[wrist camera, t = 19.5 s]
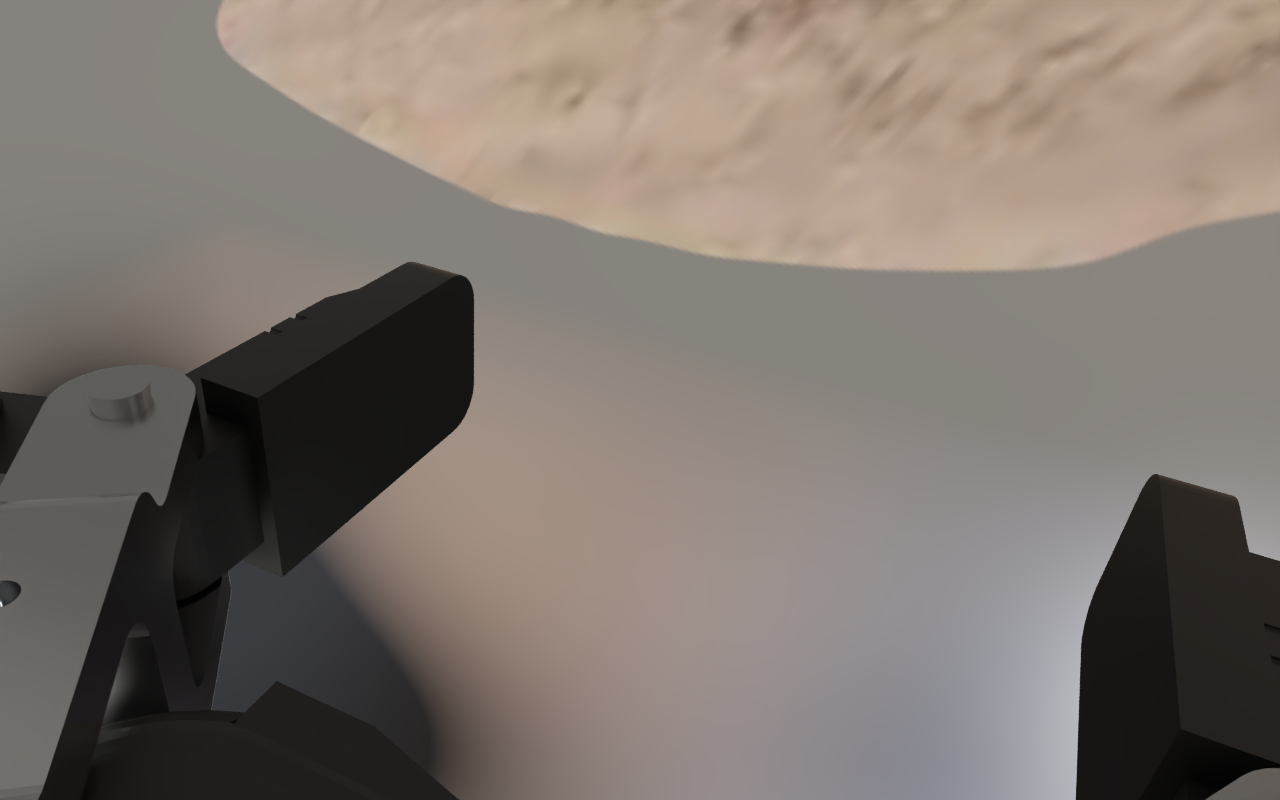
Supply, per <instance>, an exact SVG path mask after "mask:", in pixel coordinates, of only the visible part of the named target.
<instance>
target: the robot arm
mask: <svg viewBox="0 0 1280 800" xmlns="http://www.w3.org/2000/svg"><path fill="white" fill-rule="evenodd" d="M473 388H474V294H473V289H472V285H471V283H470V281H469V280H468V279H467V278H466V277H464V276H462V275H458V274H454V273H451V272H448V271H444V270H440V269H437V268H434V267H430V266H426V265H423V264H420V263H416V262H408V263H405V264H403V265H401V266H399V267H398V268H396V269H394V270H392V271H391V272H389V273H387V274H385V275H383V276H381V277H380V278H378V279H377V280H374V281H373V282H371V283H369V284H367V285H366V286H364V287H362V288H360V289H357V290H353V291H349V292H346V293H342V294H338V295H334V296H330V297H327V298H325V299H323V300H321V301H319V302H317V303H315V304H314V305H312V306H310V307H308V308H306V309H305V310H303V311H301V312H299V313H297V314H296V317H295V319H293V318H288V319H286V320H284V321H282V322H281V323H279V324H277V325H275V326H273V327H272V328H271V331H270V333H269V332H266V331H264V332H262V333H260V334H259V335H257V336H255V337H253V338H251V339H250V340H248V341H246V342H244V343H242V344H240V345H238V346H237V347H235V348H233V349H231V350H229V351H227V352H226V353H224V354H222V355H220V356H218V357H216V358H215V359H213V360H211V361H209V362H207V363H205V364H204V365H202V366H200V367H198V368H196V369H194V370H193V371H191V372H189V373H187V374H185V375H184V374H182V373H180V372H178V371H175V370H172V369H169V368H165V367H159V366H150V365H131V366H119V367H113V368H108V369H103V370H98V371H95V372H91V373H89V374H85V375H82V376H80V377H77V378H75V379H73V380H71V381H69V382H67V383H65V384H63V385H62V386H60V387H59V388H57V389H56V390H55V391H54V392H53V393H52V394H50V395H49V396H48V397H44V396H35V395H26V394H17V393H8V392H0V800H459V799H457V798H456V797H455V796H454V795H452V794H451V793H450V792H449V791H448V790H447V789H446V788H444V787H443V786H442V785H441V784H440V783H439V782H437V781H436V780H435V779H434V778H433V777H432V776H431V775H429V774H428V773H427V772H426V771H425V770H424V769H422V767H420V766H419V765H418V764H417V763H416V762H415V761H413V760H412V759H411V758H410V757H409V756H408V755H407V754H405V753H404V752H403V751H402V750H401V749H400V748H399V747H397V746H396V745H395V744H394V743H393V742H392V741H391V740H389V739H388V738H387V737H386V736H385V735H384V734H382V733H381V732H380V731H379V730H378V729H377V728H376V727H374V726H372V725H370V724H368V723H366V722H364V721H362V720H359V719H357V718H355V717H353V716H351V715H348V714H346V713H344V712H342V711H340V710H338V709H336V708H333V707H331V706H329V705H327V704H325V703H323V702H320V701H318V700H316V699H314V698H312V697H310V696H308V695H305V694H303V693H301V692H299V691H297V690H295V689H292V688H290V687H288V686H286V685H283V684H282V683H279V682H277V681H276V682H275V684H273V685H272V686H271V687H270V688H269V689H268V690H267V691H266V692H265V693H264V694H263V695H262V696H261V697H260V698H259V699H258V700H257V701H256V702H255V703H254V704H253V705H252V706H251V707H250V708H249V709H248V710H247V711H246V712H245V713H243V712H233V711H219V710H211V709H212V703H213V697H214V692H215V686H216V680H217V673H218V668H219V662H220V656H221V649H222V644H223V638H224V632H225V626H226V621H227V615H228V609H229V603H230V597H231V584H230V580H229V573H228V571H229V570H230V569H231V568H232V567H234V566H235V565H236V564H237V563H239V562H240V561H241V560H243V561H246V562H248V563H250V564H253V565H255V566H258V567H260V568H262V569H265V570H267V571H269V572H272V573H274V574H276V575H279V576H281V577H283V576H284V575H286V574H287V573H288V572H289V571H290V570H291V569H293V568H294V567H295V566H296V565H297V564H299V563H300V562H301V561H302V560H303V559H304V558H306V557H307V556H308V555H309V554H310V553H311V552H313V551H314V550H315V549H316V548H317V547H318V546H319V545H321V544H322V543H323V542H324V541H325V540H326V539H328V538H329V537H330V536H331V535H332V534H334V533H335V532H336V531H337V530H338V529H340V528H341V527H342V526H343V525H344V524H345V523H347V522H348V521H349V520H350V519H351V518H352V517H353V516H355V515H356V514H357V513H358V512H359V511H360V510H362V509H363V508H364V507H365V506H366V505H367V504H369V503H370V502H371V501H372V500H373V499H375V498H376V497H377V496H378V495H379V494H380V493H382V492H383V491H384V490H385V489H386V488H387V487H389V486H390V485H391V484H392V483H393V482H394V481H396V479H398V478H399V477H400V476H401V475H403V474H404V473H405V472H406V471H407V470H408V469H410V468H411V467H412V466H413V465H414V464H415V463H416V462H418V461H419V460H420V459H421V458H422V457H424V456H425V455H426V454H427V453H428V452H430V451H431V450H432V449H433V448H434V447H435V446H437V445H438V444H439V443H440V442H441V441H442V440H443V439H445V438H446V437H447V436H448V435H449V434H451V433H452V432H453V431H454V430H455V429H456V428H457V427H458V426H459V424H460V423H461V422H462V420H463V418H464V417H465V415H466V413H467V410H468V408H469V405H470V402H471V398H472V394H473ZM1077 755H1078V756H1077V784H1076V800H1280V561H1277V560H1274V559H1271V558H1267V557H1264V556H1261V555H1257V554H1254V553H1251V552H1249V550H1248V545H1247V540H1246V535H1245V530H1244V525H1243V521H1242V516H1241V511H1240V506H1239V502H1238V500H1237V498H1236V497H1234V496H1232V495H1228V494H1225V493H1221V492H1217V491H1214V490H1211V489H1207V488H1203V487H1200V486H1197V485H1193V484H1189V483H1186V482H1182V481H1179V480H1175V479H1172V478H1168V477H1165V476H1161V475H1158V474H1154V475H1152V476H1151V477H1150V478H1149V479H1148V481H1147V482H1146V484H1145V485H1144V487H1143V489H1142V491H1141V493H1140V495H1139V497H1138V499H1137V501H1136V503H1135V505H1134V507H1133V510H1132V512H1131V514H1130V516H1129V518H1128V521H1127V523H1126V525H1125V527H1124V529H1123V531H1122V533H1121V535H1120V538H1119V540H1118V542H1117V544H1116V546H1115V548H1114V551H1113V553H1112V555H1111V557H1110V559H1109V561H1108V564H1107V566H1106V568H1105V570H1104V572H1103V574H1102V576H1101V579H1100V581H1099V583H1098V585H1097V587H1096V590H1095V592H1094V595H1093V598H1092V600H1091V603H1090V606H1089V610H1088V613H1087V617H1086V621H1085V625H1084V630H1083V635H1082V643H1081V667H1080V696H1079V725H1078V754H1077Z"/></svg>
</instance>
